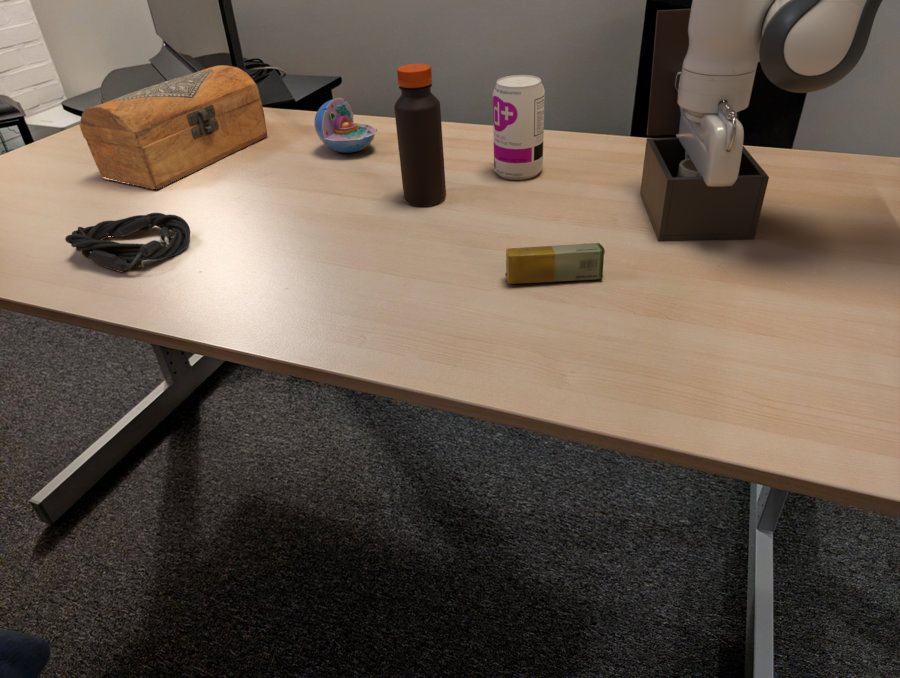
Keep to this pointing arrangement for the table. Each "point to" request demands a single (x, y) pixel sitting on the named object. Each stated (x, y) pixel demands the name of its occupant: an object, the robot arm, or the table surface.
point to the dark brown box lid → (667, 71)
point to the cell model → (341, 127)
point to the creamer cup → (687, 169)
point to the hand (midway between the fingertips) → (696, 191)
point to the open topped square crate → (699, 197)
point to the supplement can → (518, 126)
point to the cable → (126, 253)
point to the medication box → (554, 263)
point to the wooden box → (174, 126)
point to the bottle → (419, 137)
